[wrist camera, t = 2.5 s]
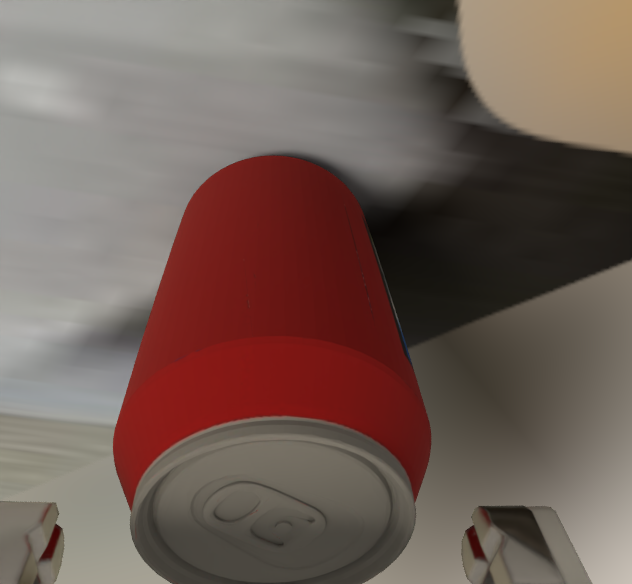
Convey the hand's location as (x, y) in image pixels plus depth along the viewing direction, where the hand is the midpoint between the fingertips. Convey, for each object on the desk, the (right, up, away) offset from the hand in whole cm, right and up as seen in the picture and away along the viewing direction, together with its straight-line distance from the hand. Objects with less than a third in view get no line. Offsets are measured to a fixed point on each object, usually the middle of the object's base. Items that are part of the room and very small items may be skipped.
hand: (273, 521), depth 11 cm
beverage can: (-1, +7, +10) cm, 12 cm away
